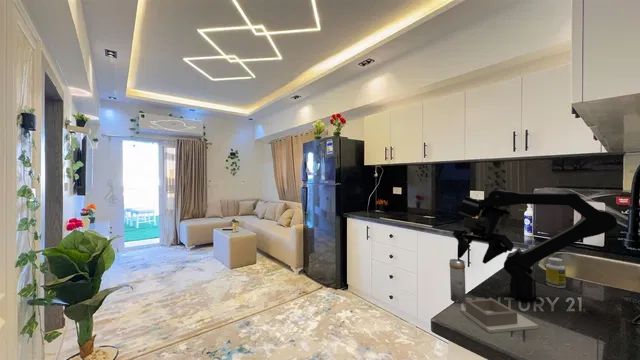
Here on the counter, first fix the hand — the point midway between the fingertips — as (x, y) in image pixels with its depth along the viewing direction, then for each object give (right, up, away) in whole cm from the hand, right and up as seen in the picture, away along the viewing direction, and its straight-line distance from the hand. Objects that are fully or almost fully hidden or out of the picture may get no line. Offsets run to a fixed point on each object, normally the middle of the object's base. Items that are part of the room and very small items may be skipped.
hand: (470, 260), depth 89 cm
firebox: (0, -13, -13) cm, 18 cm away
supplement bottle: (+37, -12, +9) cm, 40 cm away
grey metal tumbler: (-4, -13, -1) cm, 14 cm away
